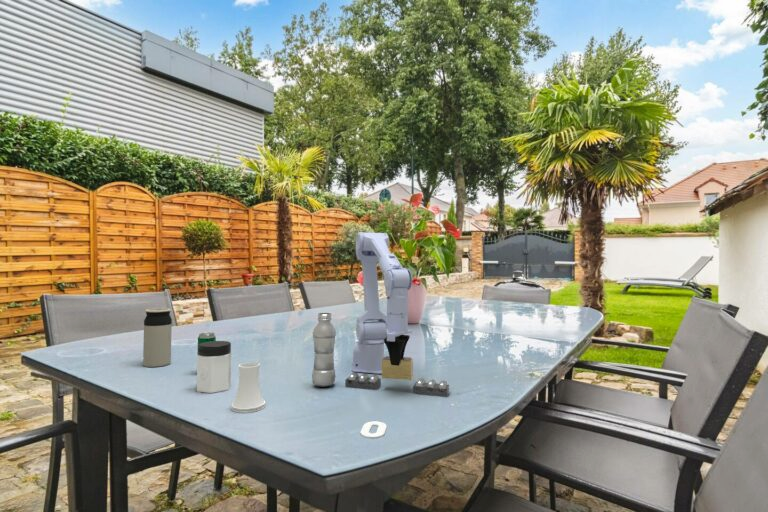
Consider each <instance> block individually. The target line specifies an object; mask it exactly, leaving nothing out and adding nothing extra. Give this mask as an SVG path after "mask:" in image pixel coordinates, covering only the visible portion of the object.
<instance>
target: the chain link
mask: <svg viewBox="0 0 768 512" xmlns="http://www.w3.org/2000/svg"><path fill="white" fill-rule="evenodd" d="M372 427H377V430H376V431H375V432H373V433H372V432H371V430H372ZM387 428H388V426H387V424H386V423H384V422H382V421H376V420H375V421H374V420H373V421H368V422H365V423H364V424H363V426H362V427H361V430H360V436H361V437H363V438H366V439H379V438H382V437H384V436H385V434H386V431H387Z"/></svg>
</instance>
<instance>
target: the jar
mask: <svg viewBox="0 0 768 512" xmlns="http://www.w3.org/2000/svg"><path fill="white" fill-rule="evenodd" d="M231 348H232V342H230V341H227V340H226V341H225V340H216V341H210V342H204V343H200V344H199V347H198V346H197V352H198V354H199V355H198V356H196V358H197V359H196V363H197V364H196V365H197V367H196V368H197V369H196V392H198V393H205V394H207V393H208V394H214V393H220V392H224V391H228V390H229V388H230V386H231V385H232V381H231V378H232V349H231Z"/></svg>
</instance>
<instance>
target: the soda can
mask: <svg viewBox="0 0 768 512" xmlns="http://www.w3.org/2000/svg"><path fill="white" fill-rule="evenodd" d="M216 339H217V338H216V335H215V332H201V333H199V334H198V337H197V348H198V347H199V344H200V343H204V342H210V341H217V340H216ZM196 355H197V356H198V355H199V354H198V351H197V354H196ZM197 356H196V357H197Z"/></svg>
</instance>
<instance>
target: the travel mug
mask: <svg viewBox="0 0 768 512" xmlns="http://www.w3.org/2000/svg"><path fill="white" fill-rule="evenodd" d="M171 311H172V309H171V308H163V307H162V308H161V307H160V308H147V309H145V311H144V312H145V314H146V316H145V318H144V319H143V350H142V351H143V352H142V353H143V355H142V357H143V358H142V365H143V366H144V367H146V368H160V367H165V366H168V365H170V364H171V363H172V362H171V361H172V358H171V357H172V324H173V323H172V320H173V319H172V317H171V315H170V314H171V313H170V312H171Z"/></svg>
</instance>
